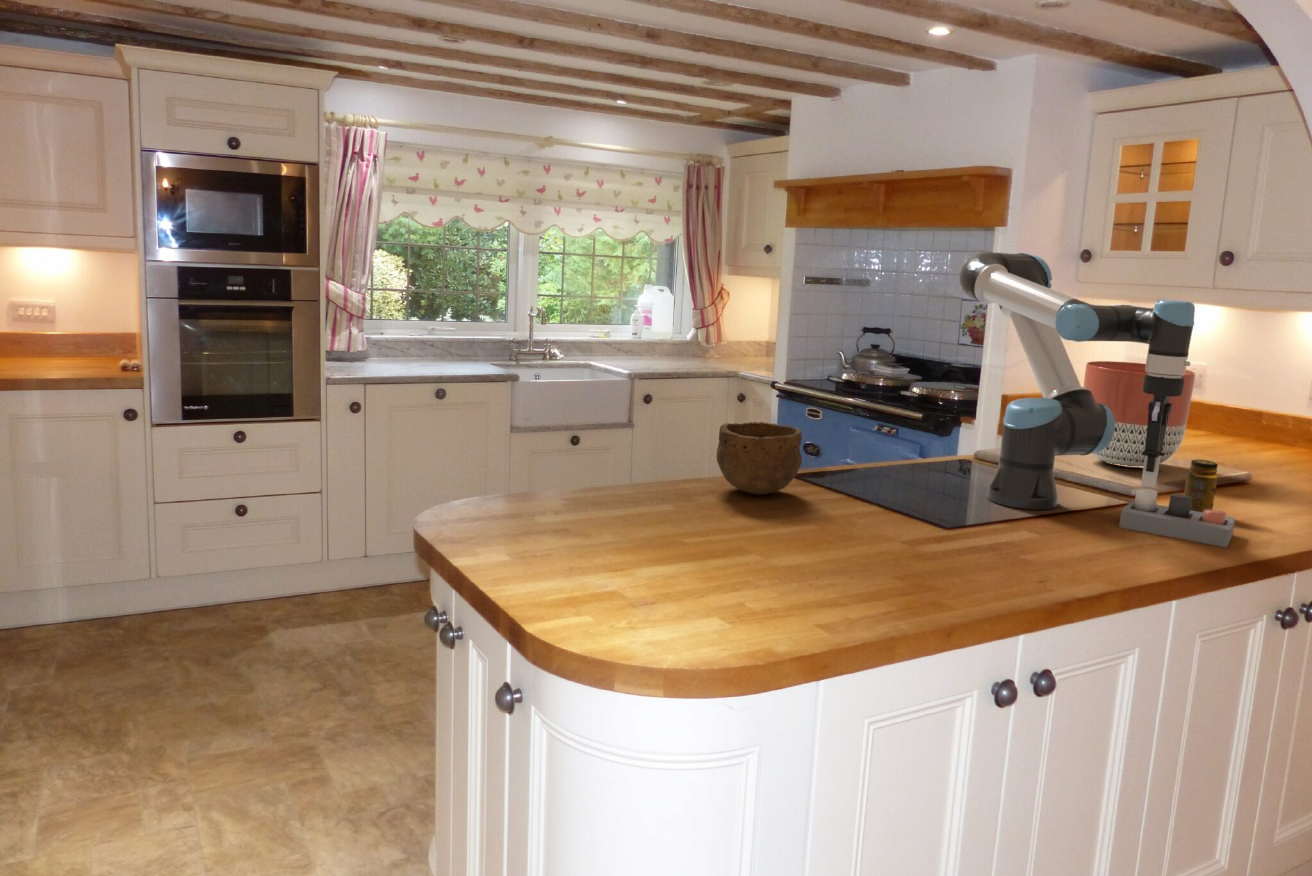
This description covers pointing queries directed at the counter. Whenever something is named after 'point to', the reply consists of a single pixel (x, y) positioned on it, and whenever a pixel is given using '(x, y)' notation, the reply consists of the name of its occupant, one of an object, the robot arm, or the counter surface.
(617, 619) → the counter surface
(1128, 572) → the counter surface
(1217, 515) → the red button
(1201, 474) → the condiment
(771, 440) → the bowl
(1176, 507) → the black button
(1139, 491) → the white button
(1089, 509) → the counter surface
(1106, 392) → the planter
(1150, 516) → the button board
